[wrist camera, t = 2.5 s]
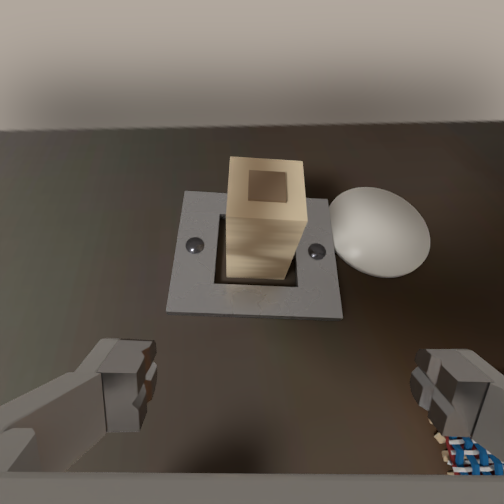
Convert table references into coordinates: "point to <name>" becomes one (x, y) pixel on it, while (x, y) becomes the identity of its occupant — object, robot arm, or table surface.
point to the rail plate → (252, 296)
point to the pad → (378, 232)
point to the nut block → (264, 216)
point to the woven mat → (469, 457)
